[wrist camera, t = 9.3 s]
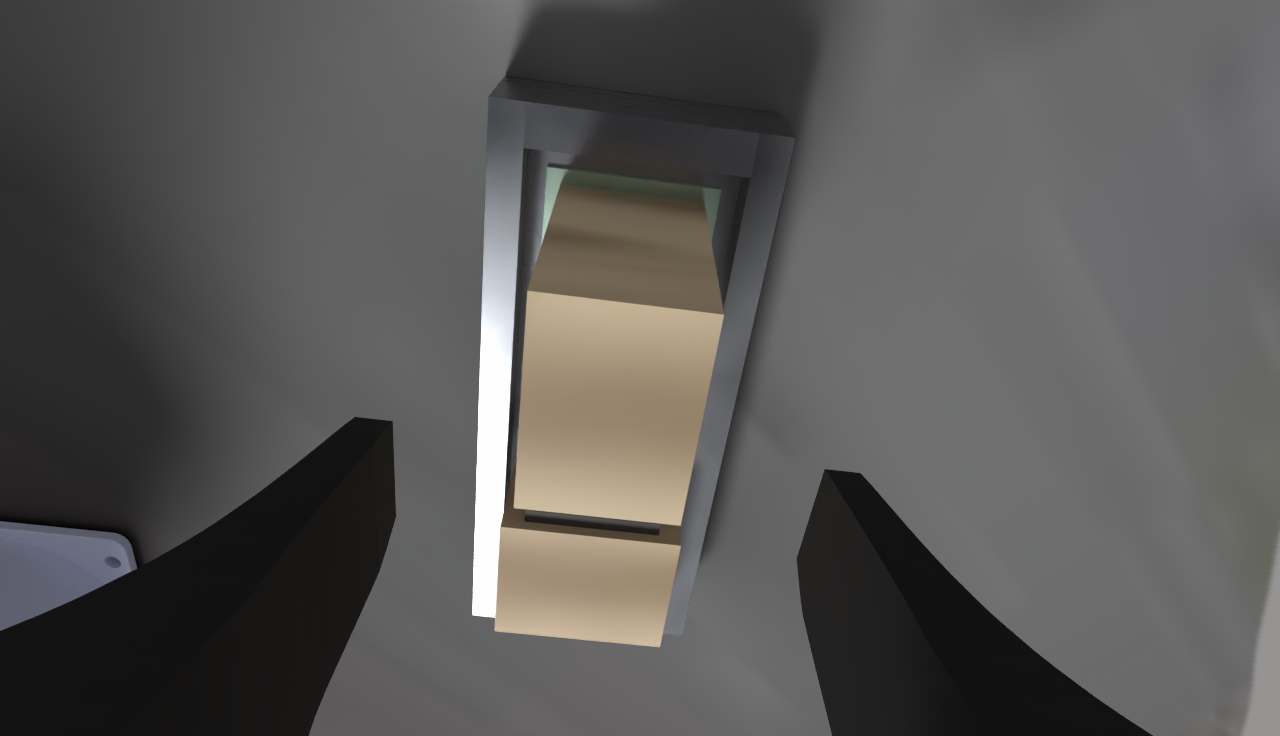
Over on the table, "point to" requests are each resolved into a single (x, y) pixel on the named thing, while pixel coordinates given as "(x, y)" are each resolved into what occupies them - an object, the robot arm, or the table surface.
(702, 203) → the tan wooden block
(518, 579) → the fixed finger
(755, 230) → the grey rectangular tray
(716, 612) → the table surface
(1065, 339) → the table surface
